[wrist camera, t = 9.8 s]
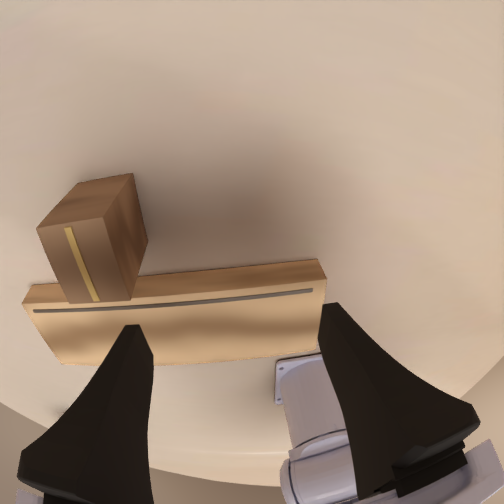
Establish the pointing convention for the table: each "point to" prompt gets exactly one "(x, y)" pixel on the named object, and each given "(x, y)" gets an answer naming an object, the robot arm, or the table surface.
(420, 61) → the table surface
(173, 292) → the oak board
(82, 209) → the block
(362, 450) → the robot arm
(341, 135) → the table surface
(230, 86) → the table surface
